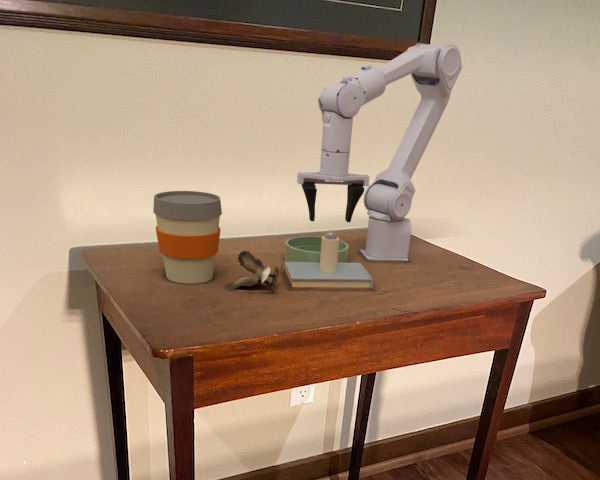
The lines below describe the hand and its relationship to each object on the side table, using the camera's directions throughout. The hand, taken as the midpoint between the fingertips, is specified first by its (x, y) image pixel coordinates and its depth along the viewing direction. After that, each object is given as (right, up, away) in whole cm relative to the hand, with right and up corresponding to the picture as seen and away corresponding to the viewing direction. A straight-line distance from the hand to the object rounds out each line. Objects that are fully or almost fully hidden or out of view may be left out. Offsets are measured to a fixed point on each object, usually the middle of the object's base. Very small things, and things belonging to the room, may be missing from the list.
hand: (329, 220), depth 128 cm
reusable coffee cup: (-28, -13, -8) cm, 32 cm away
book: (-1, -14, -5) cm, 15 cm away
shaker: (-1, -12, -6) cm, 13 cm away
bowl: (-3, -7, +6) cm, 10 cm away
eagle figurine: (-15, -16, -12) cm, 25 cm away
